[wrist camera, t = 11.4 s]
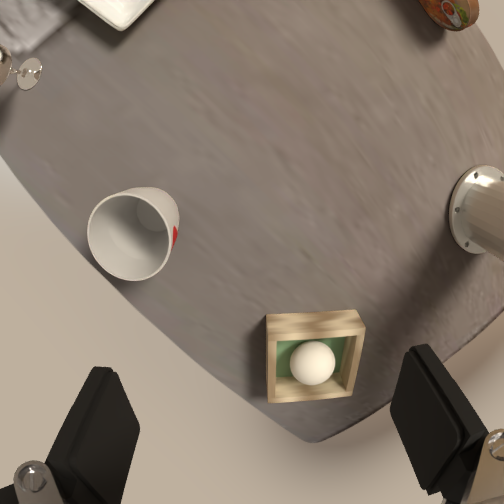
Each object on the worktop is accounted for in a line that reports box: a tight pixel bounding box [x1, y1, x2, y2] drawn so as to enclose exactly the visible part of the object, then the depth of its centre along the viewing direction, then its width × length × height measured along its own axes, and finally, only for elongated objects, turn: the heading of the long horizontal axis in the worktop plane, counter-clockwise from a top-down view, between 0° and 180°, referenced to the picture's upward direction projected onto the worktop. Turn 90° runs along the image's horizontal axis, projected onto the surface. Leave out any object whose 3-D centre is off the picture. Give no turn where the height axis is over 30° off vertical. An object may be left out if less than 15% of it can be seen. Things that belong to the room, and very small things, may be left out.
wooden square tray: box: [266, 309, 366, 403], centre depth 41 cm, size 12×12×4 cm
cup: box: [87, 187, 179, 281], centre depth 32 cm, size 8×8×10 cm
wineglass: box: [0, 44, 42, 90], centre depth 23 cm, size 6×6×12 cm
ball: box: [290, 341, 335, 385], centre depth 41 cm, size 6×6×6 cm
